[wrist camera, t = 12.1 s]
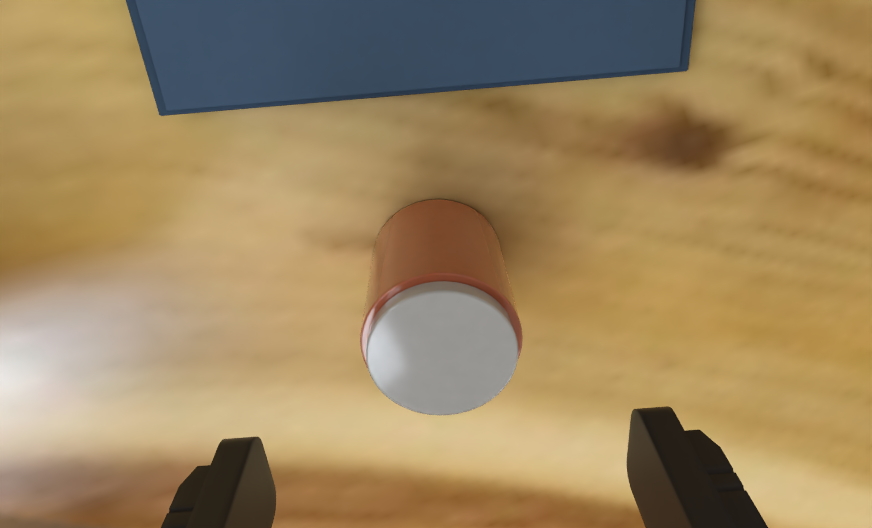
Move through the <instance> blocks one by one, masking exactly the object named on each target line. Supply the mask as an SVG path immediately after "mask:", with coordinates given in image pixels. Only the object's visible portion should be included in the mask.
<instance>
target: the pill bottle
mask: <svg viewBox="0 0 872 528" xmlns="http://www.w3.org/2000/svg"><path fill="white" fill-rule="evenodd" d="M360 344H361V352H362V356H363V359H364V361H365V364H366V366H367V368H368V370H369V373H370V375H371V377H372V379H373V381H374V382H375V384H376V385H377V387H378V388H379V389H380V390H381V392H382V393H384V394H385V395H386V396H387V397H388V398H389V399H391V400H392V401H393V402H395V403H397V404H398V405H400V406H402V407H404V408H407V409H409V410H411V411H415V412H418V413H423V414H429V415H452V414H458V413H463V412H467V411H470V410H472V409H475V408H477V407H479V406H482V405H484V404H485V403H487V402H488V401H490V400H491V399H493V398H494V397H495V396H497V395H498V394H499V393H500V392H501V391H502V390H503V389H504V387H505V386H506V385H507V383H508V382H509V380H510V379H511V377H512V375H513V373H514V370H515V368H516V365H517V361H518V358H519V356H520V352H521V348H522V328H521V324H520V320H519V316H518V312H517V309H516V305H515V301H514V297H513V294H512V290H511V286H510V282H509V278H508V275H507V271H506V267H505V263H504V259H503V256H502V252H501V248H500V244H499V241H498V238H497V235H496V233H495V231H494V229H493V228H492V226H491V225H490V223H489V222H488V221H487V220H486V219H485V218H484V217H483V216H482V215H481V214H480V213H478V212H477V211H475V210H474V209H472V208H470V207H468V206H466V205H464V204H461V203H459V202H455V201H450V200H441V199H438V200H426V201H421V202H417V203H414V204H412V205H409V206H407V207H405V208H404V209H402V210H400V211H399V212H397V213H396V214H395V215H393V216H392V217H391V218H390V219H389V220H388V221H387V222H386V224H385V225H384V226H383V228H382V229H381V231H380V233H379V235H378V237H377V240H376V243H375V248H374V253H373V259H372V266H371V272H370V278H369V284H368V291H367V297H366V303H365V310H364V316H363V322H362V328H361V338H360Z"/></svg>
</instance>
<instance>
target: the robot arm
mask: <svg viewBox="0 0 872 528" xmlns="http://www.w3.org/2000/svg"><path fill="white" fill-rule="evenodd" d="M627 472H628V479H629V483H630V487H631V490H632V493H633V495H634V498H635V501H636V503H637V506H638V508H639V511H640V514H641V516H642V519H643V521H644V524H645V527H646V528H768V527H767V525H766V523H765V522H764V520H763V518H762V517H761V515H760V513H759V512H758V510H757V508H756V507H755V505H754V503H753V501H752V500H751V498H750V496H749V495H748V493H747V491H744V488H743V485H742V483H741V481H740V480H739V478H738V476H737V475H736V473H734V472H733V468H732V466H731V464H730V463H729V461H728V459H727V458H726V456H725V454H724V453H723V451H722V449H721V448H720V447H719V446H718V445H717V444H716V443H715V442H713V441H712V440H711V439H710V438H709V437H708V436H706V435H705V434H704V433H703V432H702V431H700V430H688V431H684V429H683V427H682V425H681V424H680V422H679V420H678V418H677V416H676V414H675V413H674V411H673V410H672V408H670V407H655V408H642V409H634V410H633V411H632V414H631V422H630V433H629V443H628V453H627ZM275 509H276V491H275V485H274V481H273V478H272V474H271V471H270V468H269V464H268V461H267V457H266V454H265V451H264V447H263V444H262V441H261V439H260V438H259V437H246V438H233V439H224V440H222V441H221V442H220V444H219V446H218V448H217V451H216V453H215V456H214V458H213V461H212V463H211V465H208V466H197V467H196V468H195V470H194V471H193V472H192V473H191V474H190V475H189V476H188V477H187V478H186V480H185V481H184V482H183V483H182V484H181V485H180V486H179V488H178V490H177V493H176V495H175V497H174V499H173V502H172V504H171V506H170V508H169V513H167V515H166V517H165V520H164V522H163V524H162V526H161V528H271V527H272V523H273V519H274V515H275Z"/></svg>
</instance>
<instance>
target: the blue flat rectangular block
mask: <svg viewBox="0 0 872 528" xmlns="http://www.w3.org/2000/svg"><path fill="white" fill-rule="evenodd" d="M126 2H127V6H128V9H129V12H130V16H131V19H132V23H133V26H134V30H135V33H136V36H137V40H138V43H139V47H140V50H141V53H142V57H143V60H144V64H145V67H146V71H147V74H148V77H149V81H150V84H151V88H152V91H153V94H154V98H155V101H156V105H157V108H158V111H159V115H161V116H164V115H176V114H188V113H200V112H211V111H223V110H235V109H247V108H258V107H270V106H282V105H294V104H305V103H317V102H329V101H341V100H352V99H364V98H376V97H388V96H399V95H411V94H423V93H435V92H446V91H458V90H470V89H482V88H494V87H505V86H517V85H529V84H541V83H552V82H564V81H576V80H588V79H599V78H611V77H623V76H635V75H646V74H658V73H670V72H682V71H687V70H688V65H689V56H690V47H691V38H692V29H693V20H694V11H695V2H696V0H126Z"/></svg>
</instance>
